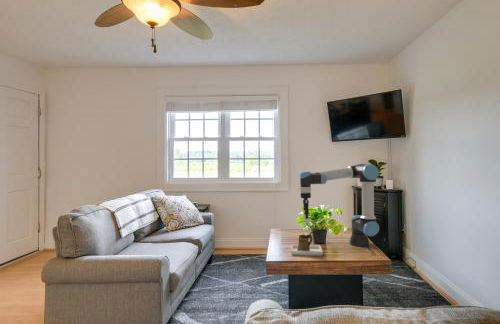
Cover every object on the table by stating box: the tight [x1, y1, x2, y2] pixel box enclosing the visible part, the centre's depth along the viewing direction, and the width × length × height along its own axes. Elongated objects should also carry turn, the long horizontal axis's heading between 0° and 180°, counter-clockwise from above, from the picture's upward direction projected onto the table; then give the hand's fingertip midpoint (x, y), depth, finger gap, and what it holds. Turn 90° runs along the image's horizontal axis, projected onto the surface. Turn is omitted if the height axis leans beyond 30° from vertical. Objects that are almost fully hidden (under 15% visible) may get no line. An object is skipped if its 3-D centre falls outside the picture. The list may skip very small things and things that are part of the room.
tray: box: [290, 244, 324, 257], centre depth 230 cm, size 22×16×3 cm
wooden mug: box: [297, 227, 317, 251], centre depth 230 cm, size 9×14×18 cm, turn 74°
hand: (306, 221), depth 230 cm, fingers open, 13 cm apart
